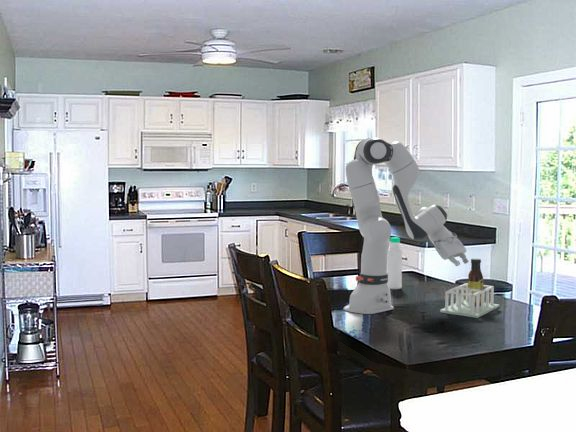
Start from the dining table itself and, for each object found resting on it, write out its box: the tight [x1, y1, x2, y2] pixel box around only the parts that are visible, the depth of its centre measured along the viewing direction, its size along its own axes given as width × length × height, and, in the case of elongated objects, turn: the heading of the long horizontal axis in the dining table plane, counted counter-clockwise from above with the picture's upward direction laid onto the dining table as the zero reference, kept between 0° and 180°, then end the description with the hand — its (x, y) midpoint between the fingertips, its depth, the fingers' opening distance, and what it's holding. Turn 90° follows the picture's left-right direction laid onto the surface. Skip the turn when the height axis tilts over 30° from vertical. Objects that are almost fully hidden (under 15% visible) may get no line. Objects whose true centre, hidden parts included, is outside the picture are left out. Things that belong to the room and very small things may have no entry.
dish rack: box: [439, 282, 500, 319], centre depth 272 cm, size 25×16×9 cm, turn 143°
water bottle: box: [387, 236, 403, 290], centre depth 317 cm, size 7×7×25 cm
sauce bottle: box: [467, 258, 484, 306], centre depth 275 cm, size 6×6×20 cm
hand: (462, 264), depth 278 cm, fingers open, 8 cm apart
